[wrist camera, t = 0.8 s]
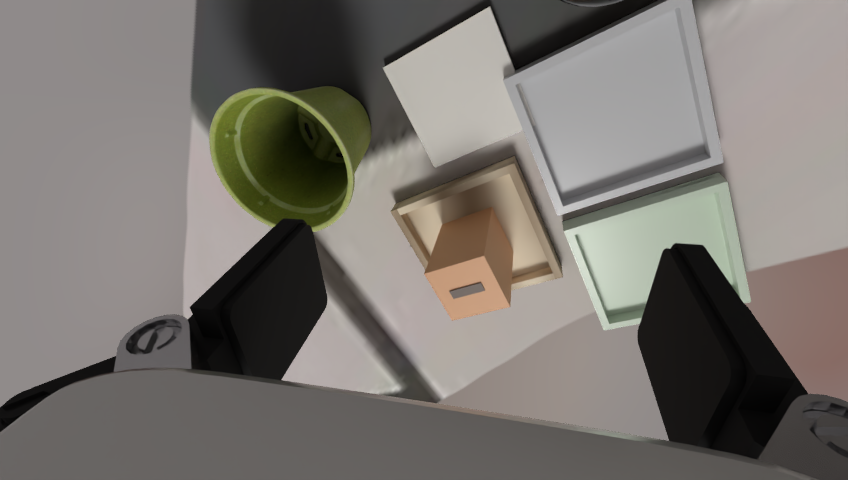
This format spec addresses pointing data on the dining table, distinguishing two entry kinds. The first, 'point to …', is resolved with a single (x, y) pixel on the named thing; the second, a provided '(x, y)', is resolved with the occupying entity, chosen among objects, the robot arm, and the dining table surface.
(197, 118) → the dining table surface
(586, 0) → the supplement bottle
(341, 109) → the plant pot
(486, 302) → the letter block
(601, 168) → the tray grey
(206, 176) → the dining table surface
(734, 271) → the tray green
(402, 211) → the tray birch
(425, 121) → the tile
